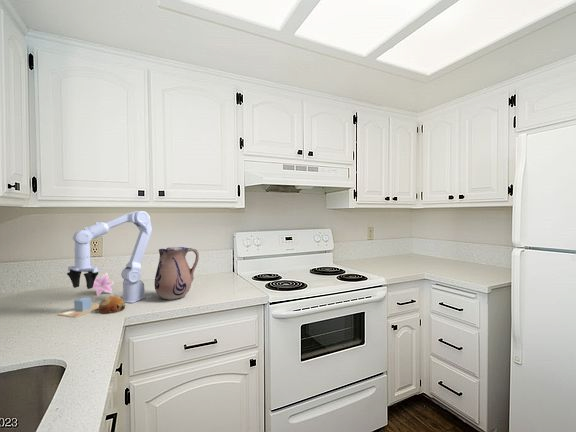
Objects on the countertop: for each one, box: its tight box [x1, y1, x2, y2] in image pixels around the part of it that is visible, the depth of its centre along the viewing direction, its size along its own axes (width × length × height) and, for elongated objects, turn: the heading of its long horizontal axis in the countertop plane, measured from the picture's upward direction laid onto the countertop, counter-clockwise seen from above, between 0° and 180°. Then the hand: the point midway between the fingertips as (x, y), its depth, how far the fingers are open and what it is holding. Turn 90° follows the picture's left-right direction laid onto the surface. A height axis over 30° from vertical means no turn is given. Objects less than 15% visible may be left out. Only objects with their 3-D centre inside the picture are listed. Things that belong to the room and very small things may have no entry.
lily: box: [91, 272, 116, 296], centre depth 160 cm, size 12×12×10 cm
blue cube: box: [73, 297, 93, 312], centre depth 133 cm, size 4×4×4 cm
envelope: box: [56, 302, 100, 318], centre depth 133 cm, size 16×10×1 cm, turn 165°
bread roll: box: [98, 295, 126, 315], centre depth 134 cm, size 10×10×8 cm
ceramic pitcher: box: [153, 246, 200, 301], centre depth 153 cm, size 18×21×25 cm
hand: (83, 287), depth 133 cm, fingers open, 7 cm apart
